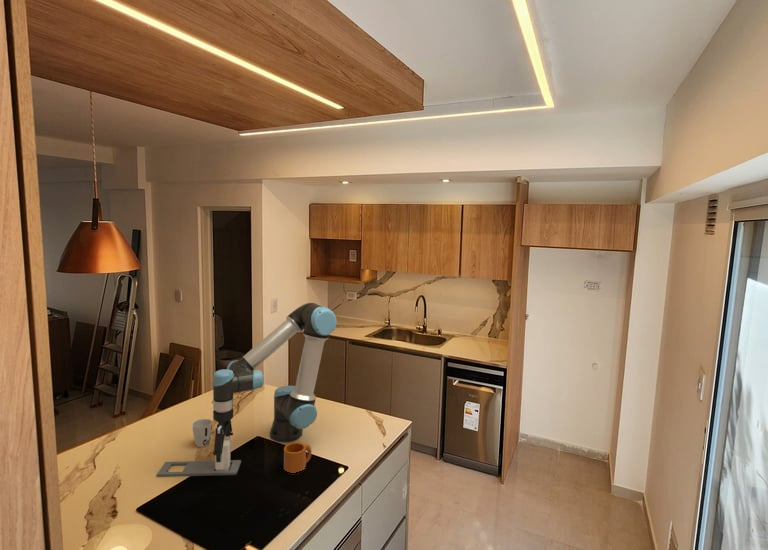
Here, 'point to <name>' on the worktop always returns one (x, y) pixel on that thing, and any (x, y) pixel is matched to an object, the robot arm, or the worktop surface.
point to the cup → (202, 432)
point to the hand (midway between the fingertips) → (223, 459)
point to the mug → (296, 457)
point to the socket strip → (197, 468)
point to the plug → (226, 456)
